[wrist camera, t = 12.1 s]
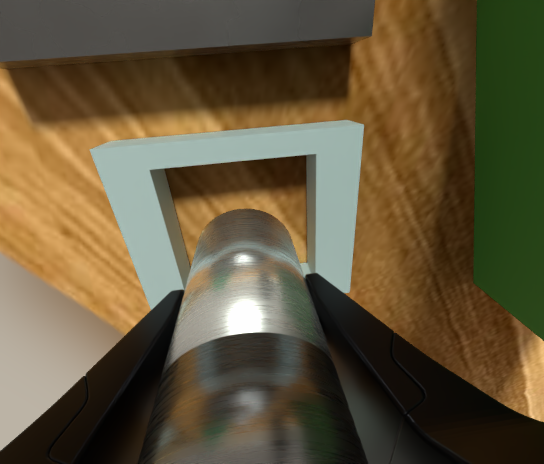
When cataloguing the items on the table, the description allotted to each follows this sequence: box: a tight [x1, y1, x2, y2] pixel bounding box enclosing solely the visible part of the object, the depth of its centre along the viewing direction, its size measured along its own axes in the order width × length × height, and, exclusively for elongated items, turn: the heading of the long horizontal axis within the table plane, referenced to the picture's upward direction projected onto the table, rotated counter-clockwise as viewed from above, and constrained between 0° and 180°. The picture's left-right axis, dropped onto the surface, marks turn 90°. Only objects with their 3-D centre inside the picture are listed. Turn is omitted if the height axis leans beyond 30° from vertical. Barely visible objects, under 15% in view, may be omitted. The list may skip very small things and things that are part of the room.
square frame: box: [90, 120, 364, 310], centre depth 14 cm, size 11×9×2 cm
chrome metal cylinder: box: [137, 209, 368, 464], centre depth 7 cm, size 4×4×9 cm
